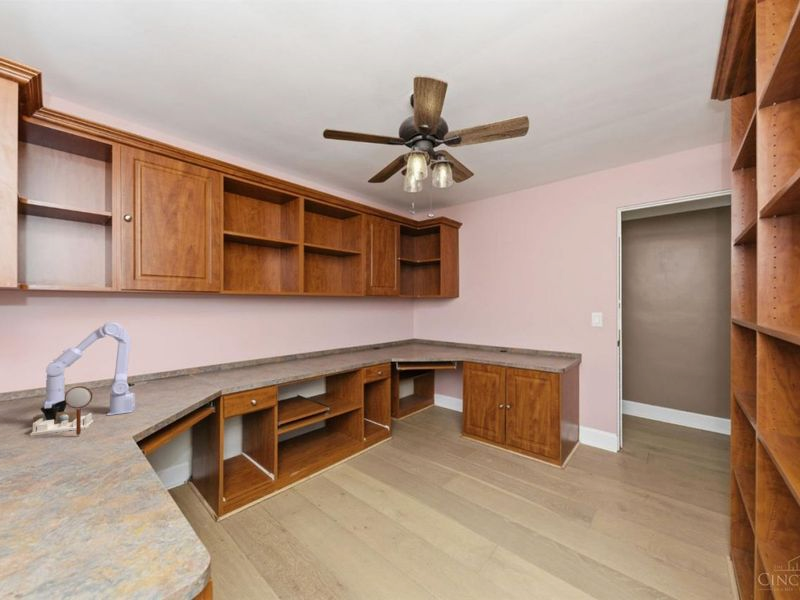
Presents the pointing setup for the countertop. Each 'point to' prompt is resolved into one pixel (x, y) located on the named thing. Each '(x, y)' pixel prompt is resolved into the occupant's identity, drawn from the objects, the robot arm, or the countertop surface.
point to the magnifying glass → (78, 402)
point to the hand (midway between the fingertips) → (55, 420)
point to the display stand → (59, 425)
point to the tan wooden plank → (59, 416)
